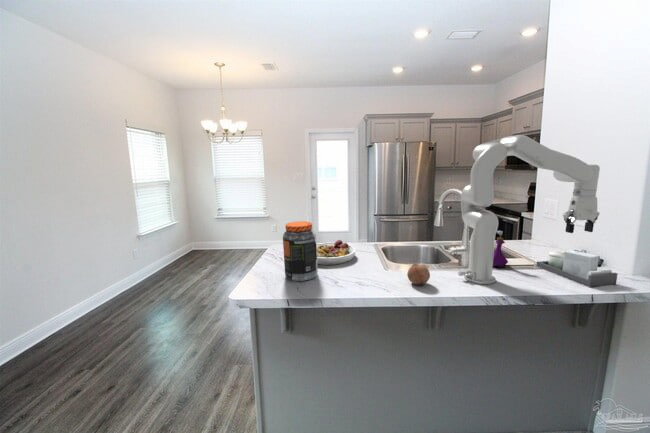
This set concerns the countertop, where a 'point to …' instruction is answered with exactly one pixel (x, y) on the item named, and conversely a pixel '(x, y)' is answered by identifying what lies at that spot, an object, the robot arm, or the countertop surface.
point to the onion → (418, 274)
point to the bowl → (334, 253)
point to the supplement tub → (300, 251)
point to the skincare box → (580, 263)
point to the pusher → (599, 272)
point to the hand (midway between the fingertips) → (578, 232)
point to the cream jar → (556, 259)
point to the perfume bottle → (499, 252)
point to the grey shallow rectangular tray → (592, 279)
